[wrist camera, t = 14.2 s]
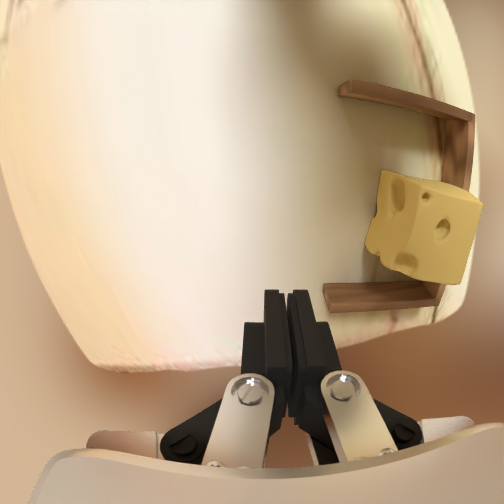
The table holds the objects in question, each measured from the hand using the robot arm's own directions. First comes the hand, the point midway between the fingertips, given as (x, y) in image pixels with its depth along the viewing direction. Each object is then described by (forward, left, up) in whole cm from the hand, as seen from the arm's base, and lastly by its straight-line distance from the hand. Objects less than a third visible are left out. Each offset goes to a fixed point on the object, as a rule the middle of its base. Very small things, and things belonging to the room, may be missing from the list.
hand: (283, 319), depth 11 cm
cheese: (+2, +18, -23) cm, 30 cm away
